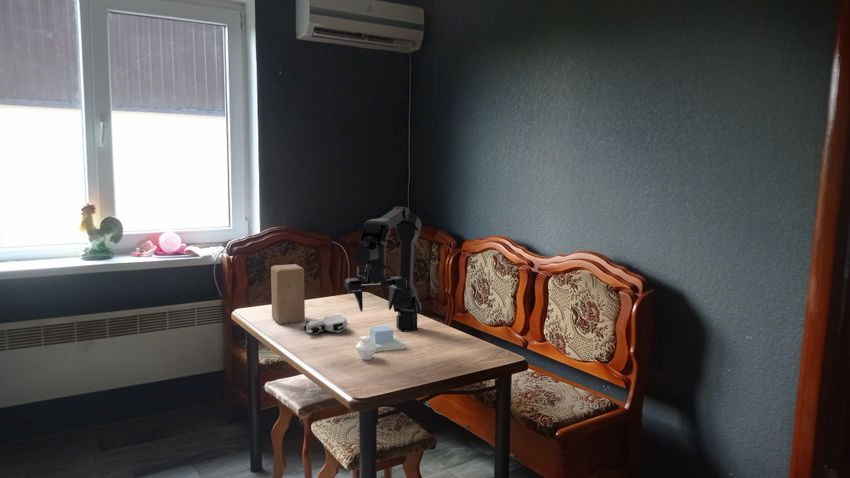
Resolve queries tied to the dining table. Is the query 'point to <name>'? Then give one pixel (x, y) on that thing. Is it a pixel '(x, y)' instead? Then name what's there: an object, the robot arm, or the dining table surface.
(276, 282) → the wooden block
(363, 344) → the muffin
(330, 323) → the robot toy
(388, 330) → the brick
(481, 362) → the dining table surface
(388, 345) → the pale green square slab
